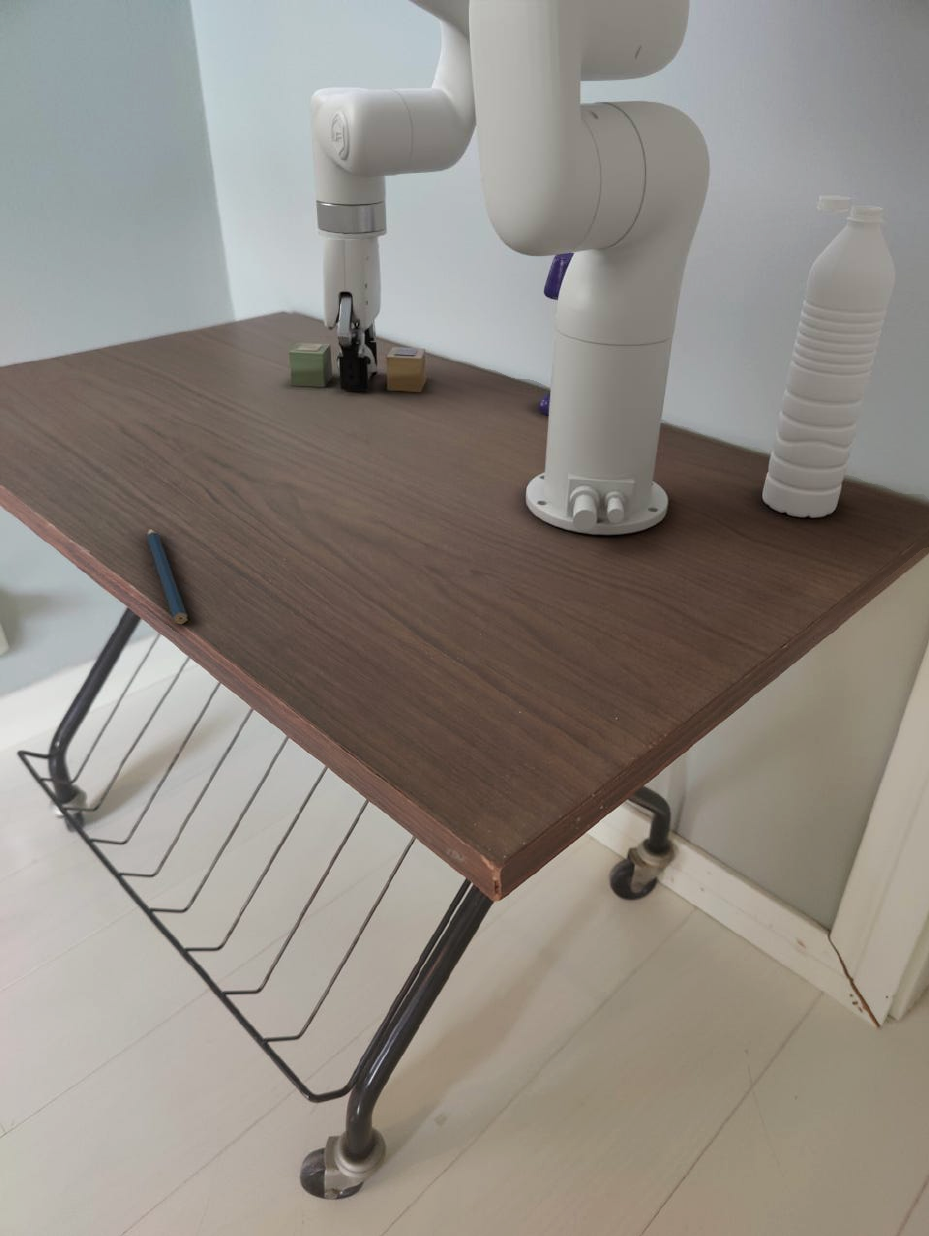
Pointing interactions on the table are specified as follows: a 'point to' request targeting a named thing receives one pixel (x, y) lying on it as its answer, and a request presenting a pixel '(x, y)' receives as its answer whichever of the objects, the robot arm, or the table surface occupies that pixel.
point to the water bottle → (830, 364)
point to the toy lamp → (552, 292)
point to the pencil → (167, 578)
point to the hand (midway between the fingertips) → (359, 380)
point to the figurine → (370, 361)
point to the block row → (316, 367)
